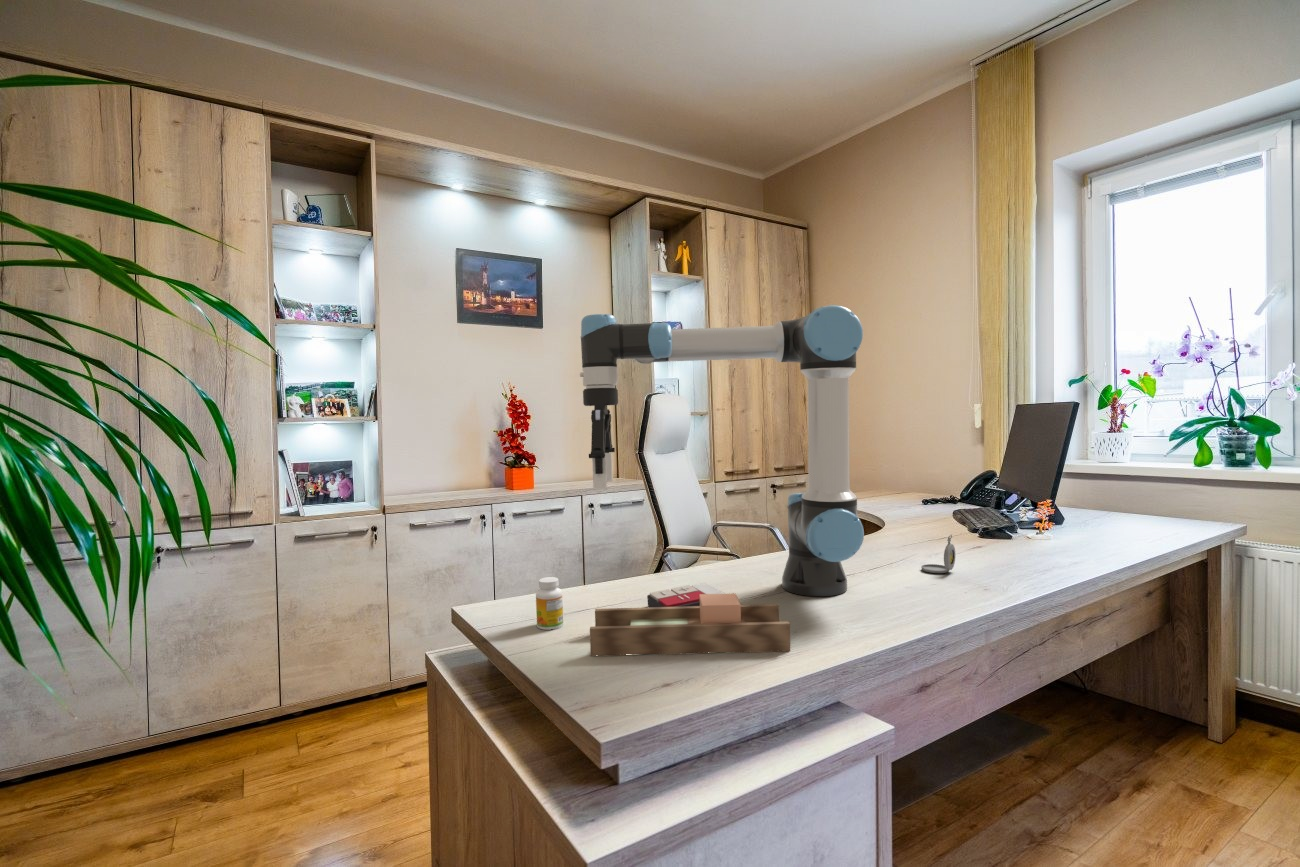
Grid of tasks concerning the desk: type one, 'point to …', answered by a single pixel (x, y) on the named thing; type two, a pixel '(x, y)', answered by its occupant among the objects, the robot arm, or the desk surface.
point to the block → (719, 608)
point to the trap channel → (686, 631)
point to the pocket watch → (948, 560)
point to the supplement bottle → (549, 604)
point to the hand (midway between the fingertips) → (603, 485)
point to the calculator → (681, 596)
